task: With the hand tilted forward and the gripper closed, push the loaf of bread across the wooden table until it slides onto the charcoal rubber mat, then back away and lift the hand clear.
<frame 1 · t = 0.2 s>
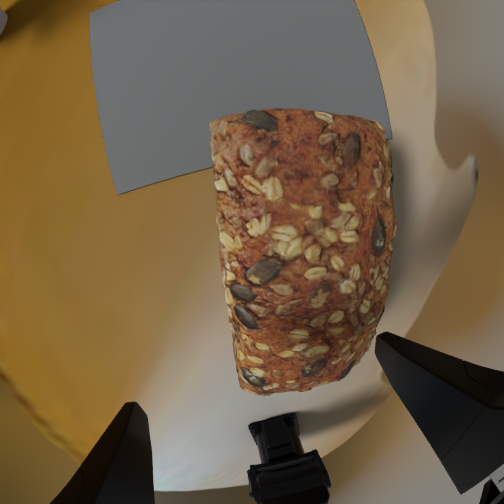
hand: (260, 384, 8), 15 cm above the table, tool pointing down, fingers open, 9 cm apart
bread: (282, 238, 23), on the table, touching serving mat
serving mat: (242, 51, 17), on the table
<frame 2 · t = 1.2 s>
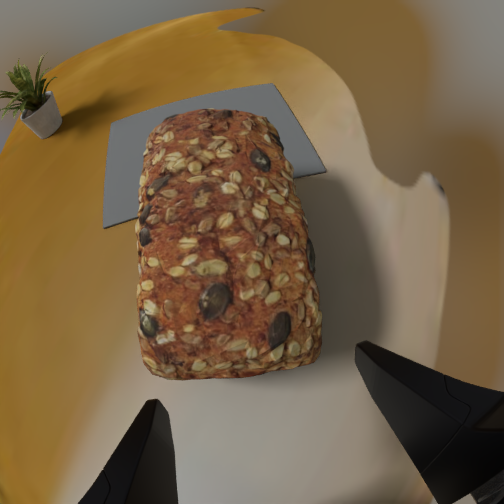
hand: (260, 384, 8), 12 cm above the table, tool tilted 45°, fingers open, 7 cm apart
bread: (229, 261, 24), on the table, touching serving mat
serving mat: (199, 137, 30), on the table
house plant: (46, 130, 34), on the table
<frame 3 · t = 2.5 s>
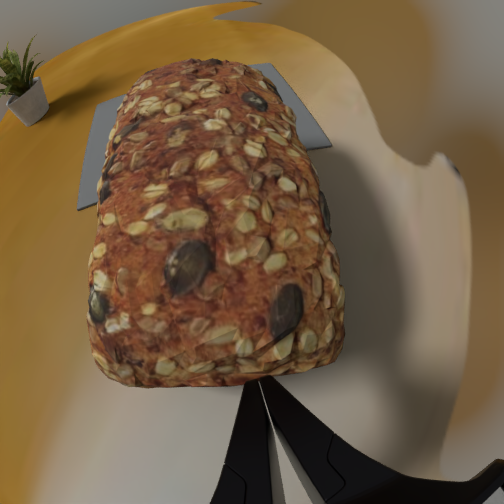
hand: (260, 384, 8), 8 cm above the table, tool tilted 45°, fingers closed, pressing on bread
bread: (218, 241, 19), on the table, touching gripper, serving mat
serving mat: (189, 113, 25), on the table
house plant: (32, 118, 30), on the table
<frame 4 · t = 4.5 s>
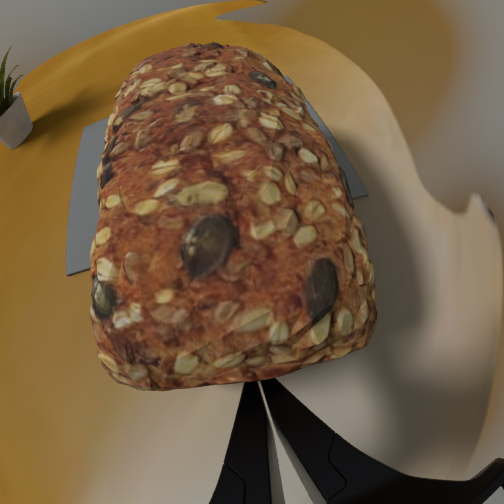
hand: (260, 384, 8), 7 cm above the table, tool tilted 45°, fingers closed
bread: (225, 231, 18), on the table, touching gripper
serving mat: (193, 144, 22), on the table
house plant: (16, 139, 26), on the table
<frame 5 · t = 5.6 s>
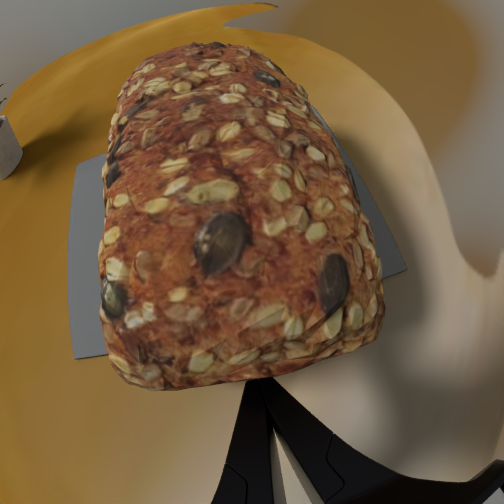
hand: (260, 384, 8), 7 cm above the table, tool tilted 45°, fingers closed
bread: (229, 229, 18), resting on serving mat
serving mat: (209, 201, 19), on the table
house plant: (5, 167, 23), on the table
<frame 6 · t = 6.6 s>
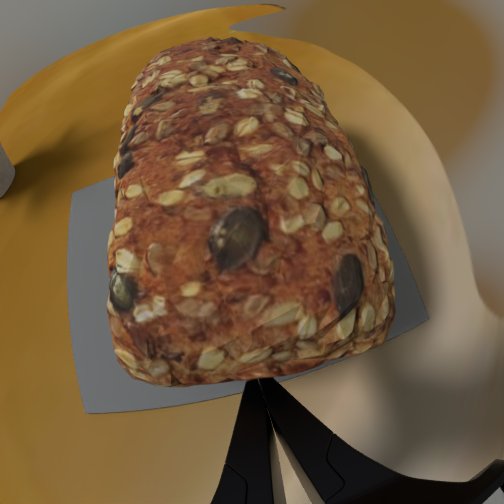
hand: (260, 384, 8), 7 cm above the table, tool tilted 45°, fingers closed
bread: (239, 226, 18), resting on serving mat, touching gripper
serving mat: (222, 248, 18), on the table
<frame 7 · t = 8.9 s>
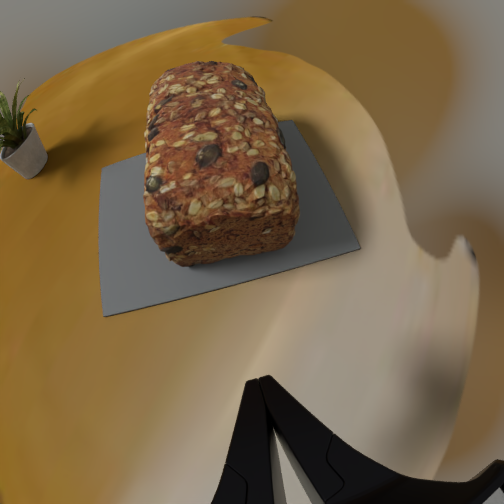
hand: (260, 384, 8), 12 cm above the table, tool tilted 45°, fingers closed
bread: (219, 181, 27), resting on serving mat
serving mat: (209, 198, 26), on the table
house plant: (31, 168, 30), on the table
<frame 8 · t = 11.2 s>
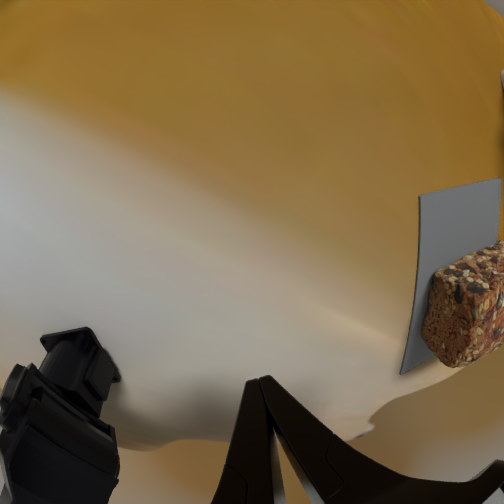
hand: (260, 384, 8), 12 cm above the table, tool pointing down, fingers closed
bread: (466, 283, 27), resting on serving mat
serving mat: (461, 279, 26), on the table
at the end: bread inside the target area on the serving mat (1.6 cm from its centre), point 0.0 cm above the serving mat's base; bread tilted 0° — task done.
